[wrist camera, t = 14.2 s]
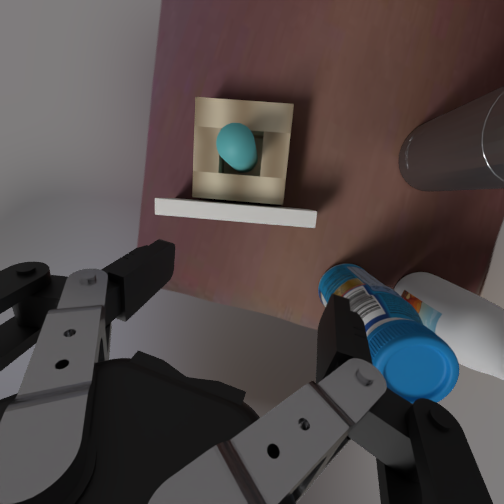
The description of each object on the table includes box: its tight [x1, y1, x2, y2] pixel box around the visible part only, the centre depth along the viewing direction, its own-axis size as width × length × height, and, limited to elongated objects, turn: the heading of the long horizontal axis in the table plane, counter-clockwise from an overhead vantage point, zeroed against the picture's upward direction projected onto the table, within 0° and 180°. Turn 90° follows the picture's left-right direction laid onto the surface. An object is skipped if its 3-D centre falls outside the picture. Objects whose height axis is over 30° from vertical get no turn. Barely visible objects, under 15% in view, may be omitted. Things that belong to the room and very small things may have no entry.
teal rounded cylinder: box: [216, 123, 258, 173], centre depth 31 cm, size 4×4×10 cm
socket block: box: [192, 97, 294, 205], centre depth 35 cm, size 12×12×5 cm
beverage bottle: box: [318, 264, 459, 404], centre depth 30 cm, size 8×8×20 cm
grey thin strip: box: [394, 272, 504, 380], centre depth 29 cm, size 8×8×20 cm
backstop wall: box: [155, 198, 317, 228], centre depth 35 cm, size 20×2×7 cm, turn 85°
